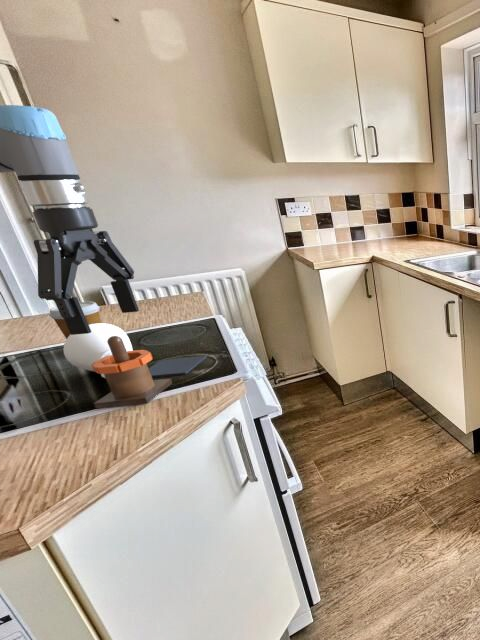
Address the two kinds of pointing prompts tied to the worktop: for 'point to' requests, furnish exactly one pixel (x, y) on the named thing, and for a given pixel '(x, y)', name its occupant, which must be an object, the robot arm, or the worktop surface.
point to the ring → (107, 367)
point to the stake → (129, 381)
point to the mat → (175, 366)
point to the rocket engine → (92, 345)
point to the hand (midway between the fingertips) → (108, 322)
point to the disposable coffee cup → (88, 309)
